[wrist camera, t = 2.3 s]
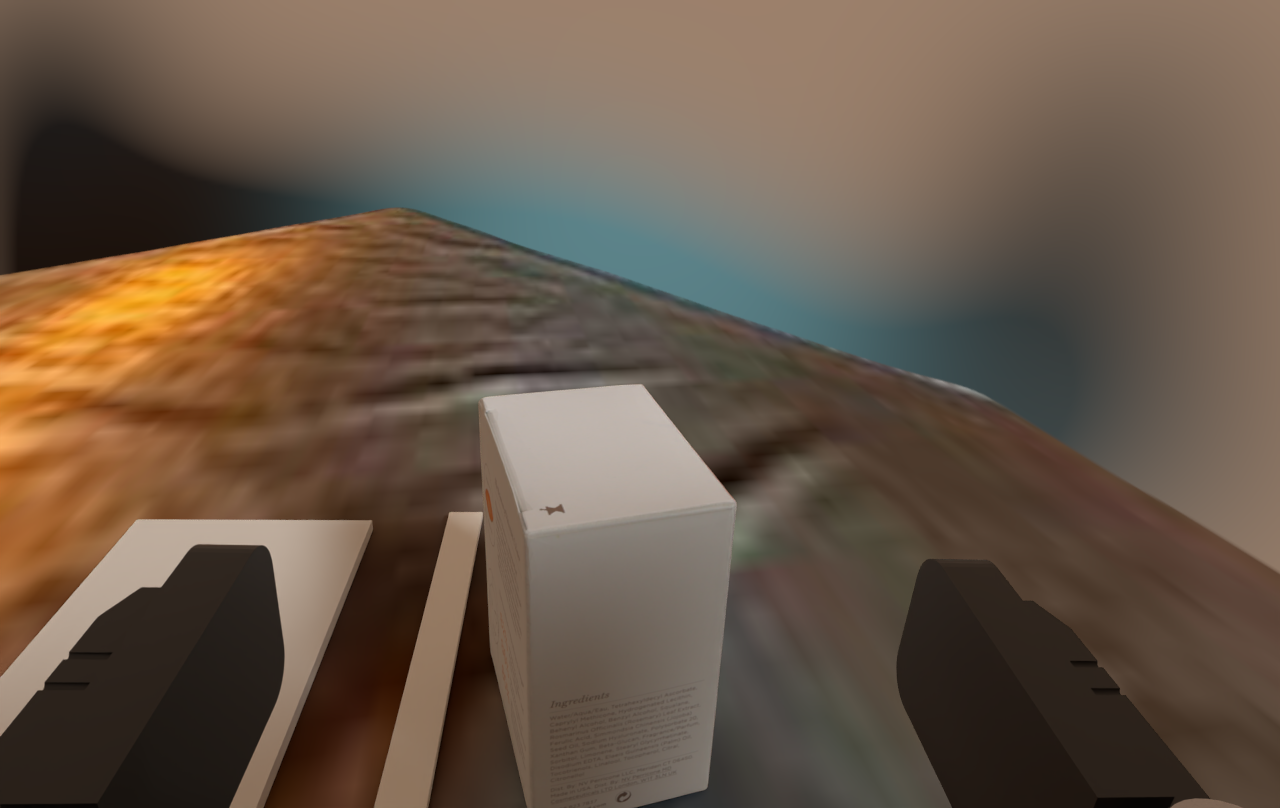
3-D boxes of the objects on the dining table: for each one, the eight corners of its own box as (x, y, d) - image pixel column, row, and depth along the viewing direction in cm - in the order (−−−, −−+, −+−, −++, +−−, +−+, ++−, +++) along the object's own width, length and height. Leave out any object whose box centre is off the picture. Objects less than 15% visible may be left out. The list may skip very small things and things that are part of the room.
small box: (709, 796, 25) (745, 504, 21) (528, 841, 23) (523, 534, 19) (632, 625, 32) (645, 377, 27) (487, 651, 30) (477, 392, 26)
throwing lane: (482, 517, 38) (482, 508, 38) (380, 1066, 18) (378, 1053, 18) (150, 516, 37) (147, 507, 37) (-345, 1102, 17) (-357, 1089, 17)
